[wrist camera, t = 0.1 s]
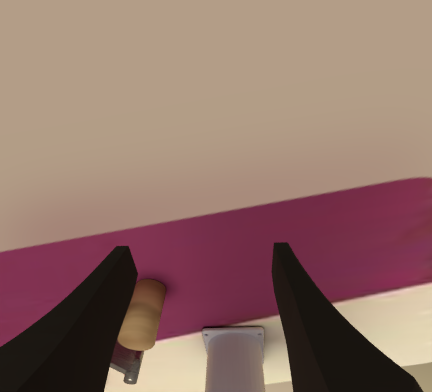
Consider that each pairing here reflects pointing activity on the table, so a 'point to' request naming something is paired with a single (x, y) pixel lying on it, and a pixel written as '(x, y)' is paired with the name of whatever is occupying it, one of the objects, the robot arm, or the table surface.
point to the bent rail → (127, 362)
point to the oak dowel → (143, 316)
